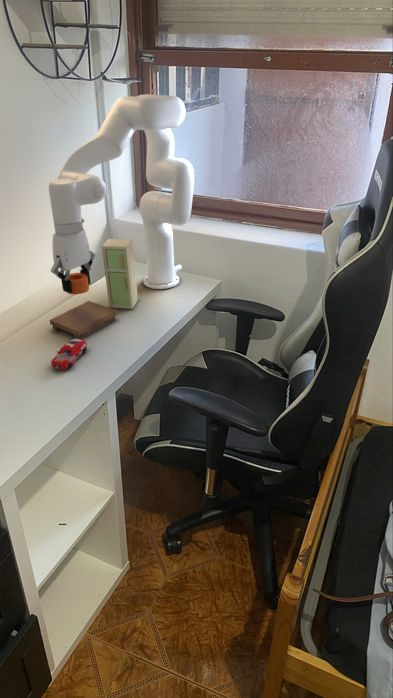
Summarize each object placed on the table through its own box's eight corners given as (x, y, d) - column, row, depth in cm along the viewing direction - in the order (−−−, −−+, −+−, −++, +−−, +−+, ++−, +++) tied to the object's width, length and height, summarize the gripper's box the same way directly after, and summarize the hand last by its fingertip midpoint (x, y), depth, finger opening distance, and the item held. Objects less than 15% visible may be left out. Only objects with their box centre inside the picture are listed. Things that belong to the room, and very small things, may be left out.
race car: (66, 374, 137) (63, 361, 135) (48, 370, 138) (45, 357, 136) (91, 349, 147) (89, 336, 145) (74, 346, 149) (72, 333, 147)
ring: (78, 283, 156) (76, 271, 154) (93, 288, 153) (91, 275, 151) (61, 291, 152) (59, 278, 150) (77, 296, 148) (75, 283, 146)
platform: (90, 310, 168) (88, 300, 166) (117, 320, 162) (116, 310, 160) (51, 330, 157) (49, 320, 155) (79, 341, 151) (77, 331, 149)
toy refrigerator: (107, 308, 169) (100, 246, 158) (114, 299, 175) (108, 238, 164) (131, 310, 167) (126, 247, 157) (138, 300, 174) (133, 239, 163)
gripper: (82, 216, 151) (89, 275, 160) (34, 233, 139) (45, 294, 148) (101, 221, 147) (107, 280, 156) (53, 238, 135) (63, 301, 144)
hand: (77, 287), depth 152 cm, fingers closed on ring, 6 cm apart
